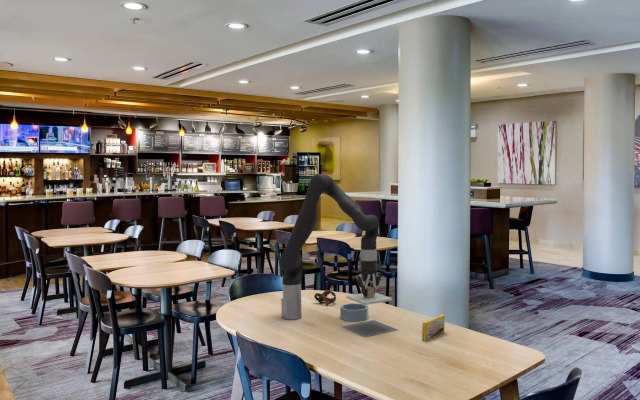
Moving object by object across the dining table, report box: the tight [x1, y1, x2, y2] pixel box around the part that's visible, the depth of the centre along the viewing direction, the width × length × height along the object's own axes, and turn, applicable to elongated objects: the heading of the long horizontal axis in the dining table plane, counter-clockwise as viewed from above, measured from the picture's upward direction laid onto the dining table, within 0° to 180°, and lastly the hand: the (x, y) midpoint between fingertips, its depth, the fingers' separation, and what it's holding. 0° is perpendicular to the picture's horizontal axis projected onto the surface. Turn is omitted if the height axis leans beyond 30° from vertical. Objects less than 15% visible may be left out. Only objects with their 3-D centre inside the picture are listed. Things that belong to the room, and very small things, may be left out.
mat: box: [341, 319, 399, 339], centre depth 243 cm, size 19×19×1 cm
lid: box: [345, 285, 393, 306], centre depth 242 cm, size 15×15×6 cm
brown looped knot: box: [314, 290, 337, 307], centre depth 290 cm, size 12×10×8 cm
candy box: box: [421, 313, 446, 342], centre depth 231 cm, size 16×2×8 cm, turn 137°
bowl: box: [339, 302, 369, 323], centre depth 260 cm, size 13×13×6 cm
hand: (368, 295), depth 242 cm, fingers closed on lid, 3 cm apart
